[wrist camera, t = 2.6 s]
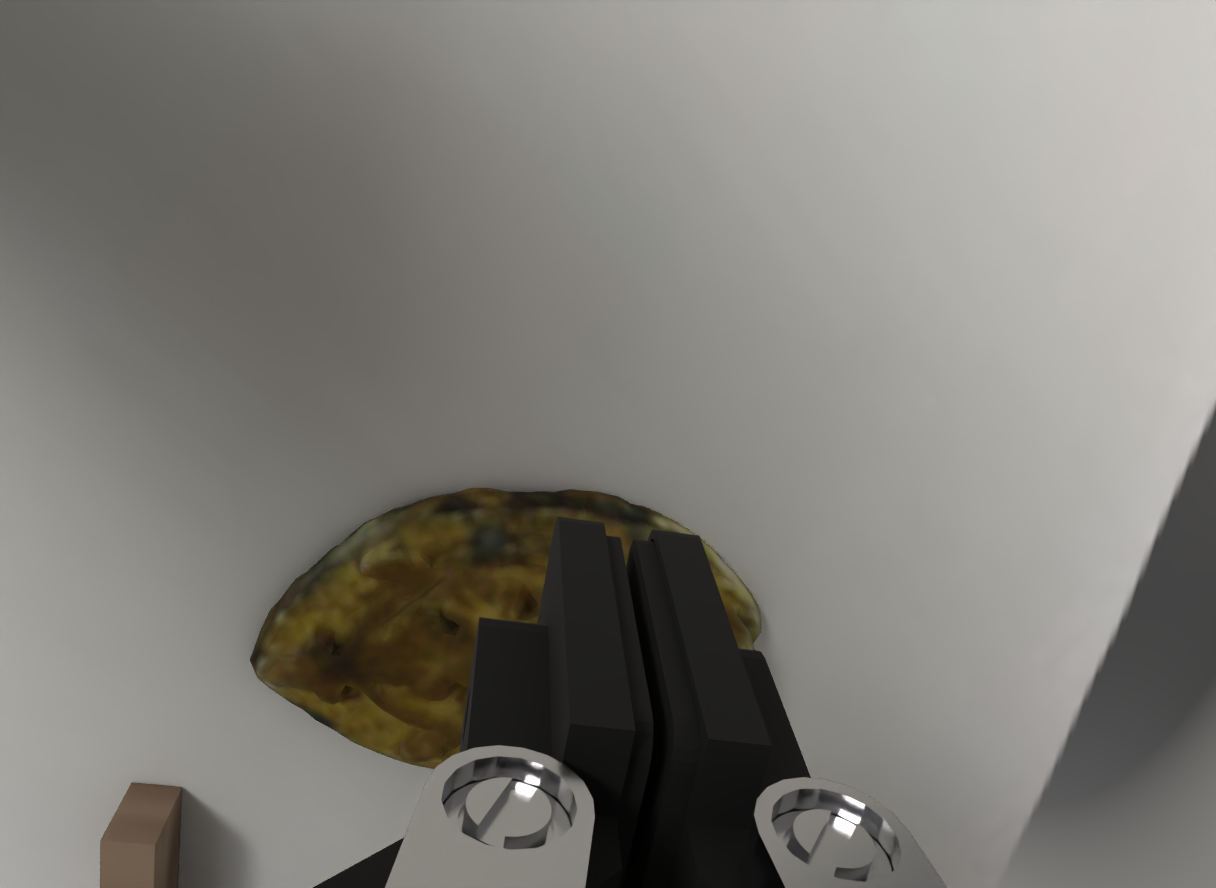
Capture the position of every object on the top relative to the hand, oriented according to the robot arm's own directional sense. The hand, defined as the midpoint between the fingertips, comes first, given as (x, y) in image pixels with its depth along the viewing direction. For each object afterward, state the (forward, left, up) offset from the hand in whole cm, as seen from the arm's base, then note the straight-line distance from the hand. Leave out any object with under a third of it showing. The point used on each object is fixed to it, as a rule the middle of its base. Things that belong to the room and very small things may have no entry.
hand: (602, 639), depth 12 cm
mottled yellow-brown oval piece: (+10, 0, -17) cm, 20 cm away
